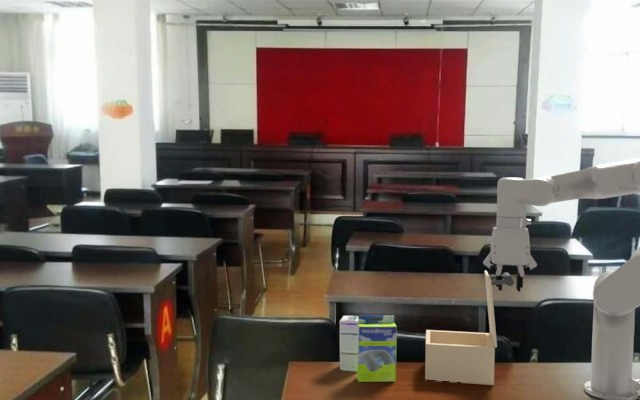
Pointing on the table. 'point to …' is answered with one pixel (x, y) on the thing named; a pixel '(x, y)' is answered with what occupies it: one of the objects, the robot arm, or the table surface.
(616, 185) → the robot arm
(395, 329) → the box
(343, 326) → the syrup box
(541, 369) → the table surface
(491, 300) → the cream panel with handle
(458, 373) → the cream hinged door cabinet
